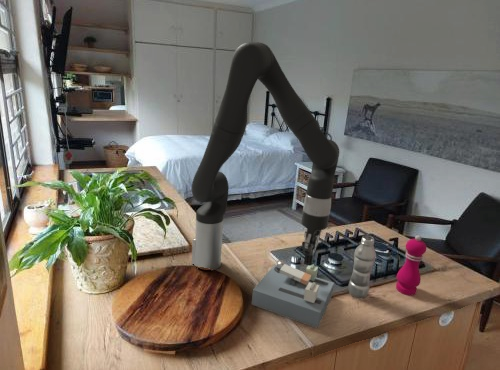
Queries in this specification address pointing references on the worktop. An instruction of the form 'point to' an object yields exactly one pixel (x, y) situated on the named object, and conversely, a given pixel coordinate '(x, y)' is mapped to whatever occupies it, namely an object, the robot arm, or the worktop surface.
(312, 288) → the slider knob
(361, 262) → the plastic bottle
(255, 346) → the worktop surface
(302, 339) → the worktop surface
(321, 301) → the console
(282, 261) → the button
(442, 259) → the worktop surface
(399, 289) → the pepper mill
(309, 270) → the green slider
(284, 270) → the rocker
